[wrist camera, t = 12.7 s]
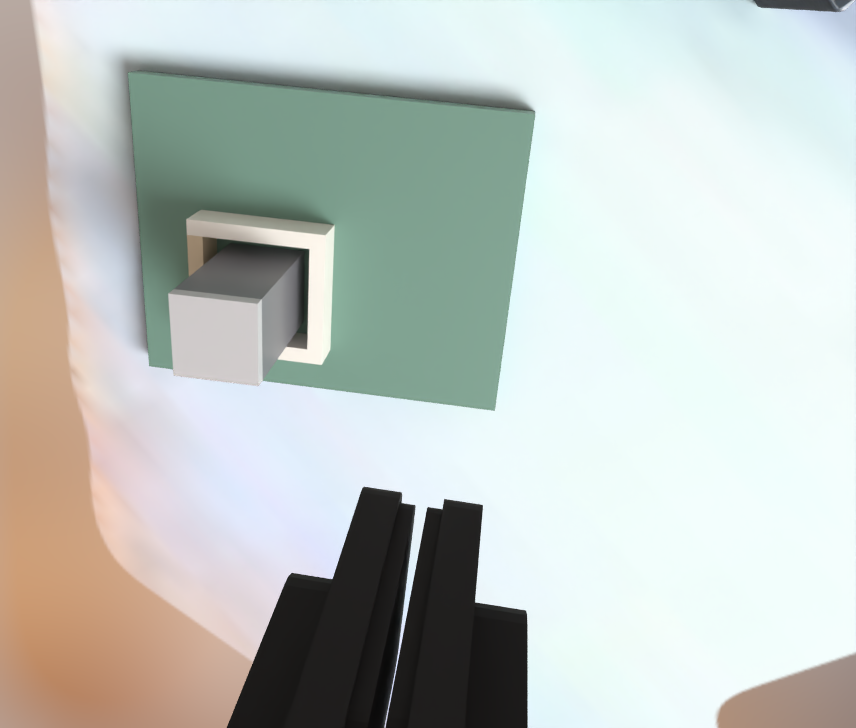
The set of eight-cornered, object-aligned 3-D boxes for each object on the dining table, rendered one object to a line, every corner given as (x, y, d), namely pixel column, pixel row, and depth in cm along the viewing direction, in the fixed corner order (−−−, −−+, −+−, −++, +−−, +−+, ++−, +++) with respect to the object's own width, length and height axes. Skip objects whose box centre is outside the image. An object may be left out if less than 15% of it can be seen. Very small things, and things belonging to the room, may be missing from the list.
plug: (230, 243, 42) (168, 293, 35) (304, 251, 42) (257, 303, 34) (232, 313, 44) (173, 375, 36) (303, 321, 43) (258, 386, 36)
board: (138, 70, 40) (108, 75, 37) (535, 111, 39) (535, 120, 36) (158, 357, 47) (133, 381, 44) (495, 400, 45) (493, 427, 42)
